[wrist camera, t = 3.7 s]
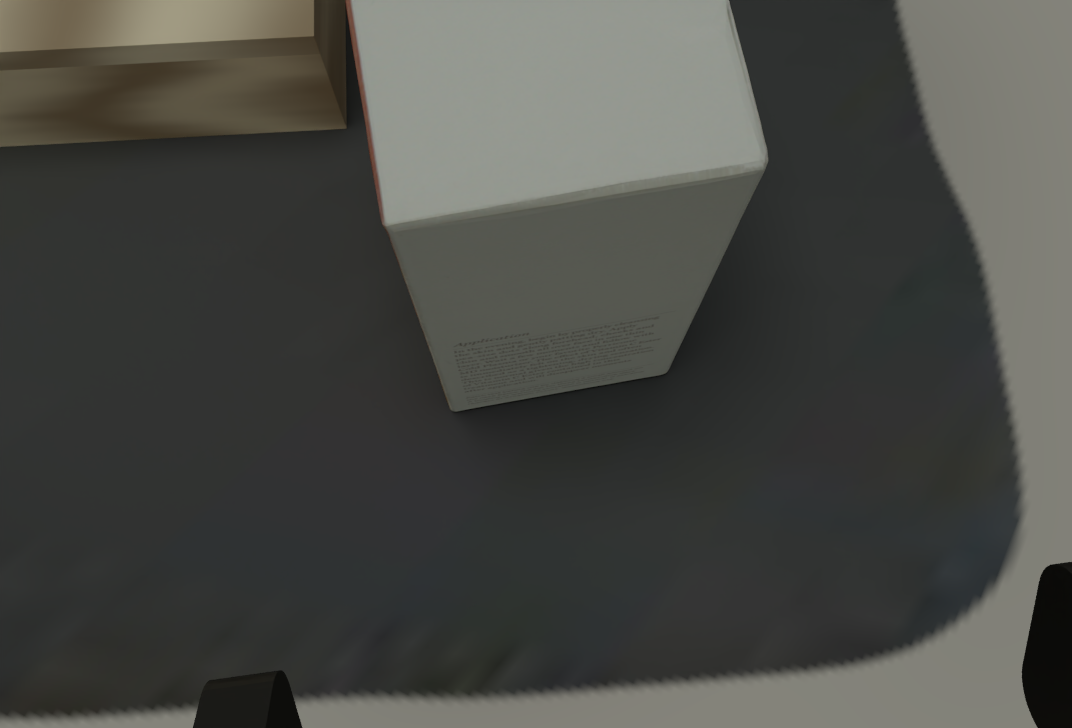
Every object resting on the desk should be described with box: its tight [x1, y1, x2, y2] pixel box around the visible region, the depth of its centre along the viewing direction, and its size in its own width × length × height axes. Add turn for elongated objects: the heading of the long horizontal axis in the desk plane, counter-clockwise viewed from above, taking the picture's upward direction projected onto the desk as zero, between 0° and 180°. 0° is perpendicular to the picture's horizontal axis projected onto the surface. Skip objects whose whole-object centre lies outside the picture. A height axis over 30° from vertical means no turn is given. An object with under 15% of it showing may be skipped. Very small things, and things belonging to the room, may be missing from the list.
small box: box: [345, 0, 768, 412], centre depth 23 cm, size 8×6×13 cm
